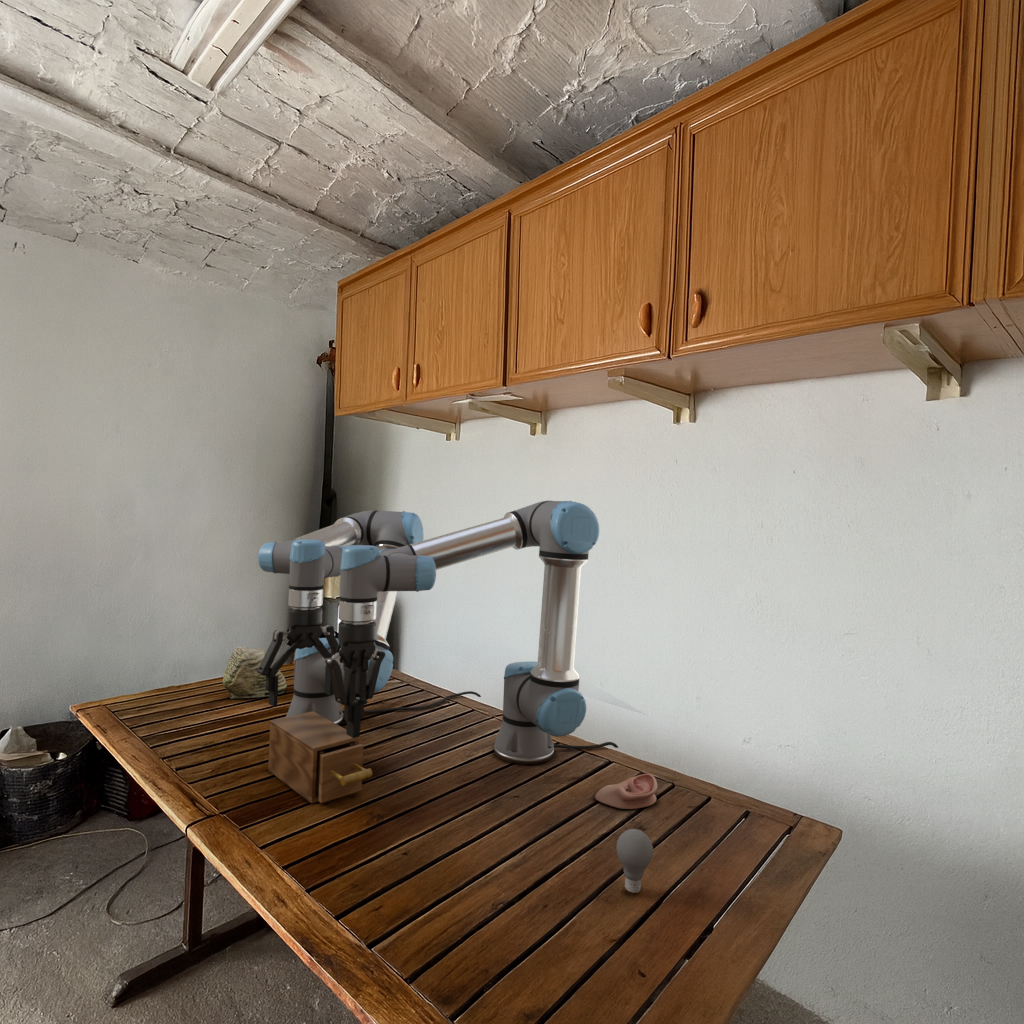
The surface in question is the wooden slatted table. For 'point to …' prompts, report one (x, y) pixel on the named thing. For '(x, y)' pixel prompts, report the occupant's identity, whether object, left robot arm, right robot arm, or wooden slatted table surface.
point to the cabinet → (302, 749)
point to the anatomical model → (630, 793)
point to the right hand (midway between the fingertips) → (353, 735)
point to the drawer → (340, 771)
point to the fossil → (248, 674)
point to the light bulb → (634, 857)
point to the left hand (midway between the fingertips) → (301, 699)
